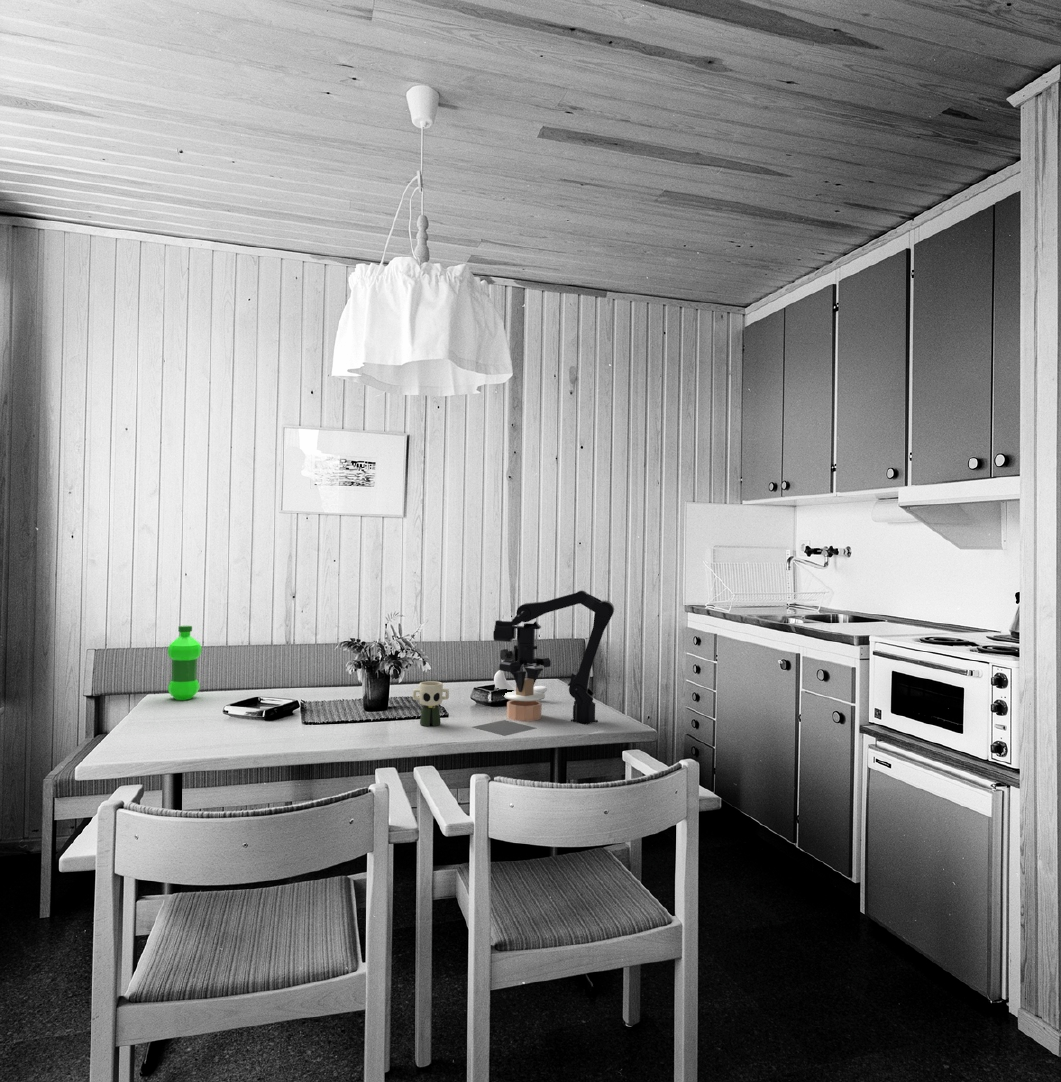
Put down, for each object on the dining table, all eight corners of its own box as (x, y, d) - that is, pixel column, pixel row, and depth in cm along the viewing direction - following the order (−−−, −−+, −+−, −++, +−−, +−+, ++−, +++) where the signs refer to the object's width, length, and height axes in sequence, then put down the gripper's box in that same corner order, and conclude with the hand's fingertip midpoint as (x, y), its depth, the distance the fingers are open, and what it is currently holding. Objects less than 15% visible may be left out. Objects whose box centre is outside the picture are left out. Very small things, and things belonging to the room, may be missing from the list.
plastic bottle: (166, 696, 271) (168, 625, 271) (199, 694, 275) (201, 624, 275) (166, 702, 261) (168, 628, 262) (200, 700, 266) (202, 627, 266)
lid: (553, 697, 250) (553, 679, 250) (525, 703, 240) (525, 684, 241) (523, 691, 259) (524, 674, 259) (496, 696, 249) (496, 678, 249)
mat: (536, 729, 235) (536, 727, 235) (504, 737, 225) (504, 735, 225) (504, 721, 244) (504, 720, 244) (471, 728, 234) (471, 727, 234)
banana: (547, 702, 276) (548, 661, 276) (493, 702, 274) (494, 660, 274) (545, 699, 281) (546, 659, 281) (493, 699, 279) (494, 658, 279)
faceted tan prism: (547, 718, 250) (548, 703, 250) (524, 723, 242) (525, 707, 242) (523, 713, 257) (523, 698, 257) (500, 718, 249) (500, 702, 249)
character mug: (413, 729, 232) (414, 685, 232) (411, 723, 239) (412, 681, 239) (449, 728, 234) (450, 685, 234) (446, 722, 241) (447, 680, 241)
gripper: (527, 638, 262) (526, 684, 262) (487, 642, 248) (486, 691, 248) (552, 641, 254) (551, 688, 254) (512, 646, 241) (511, 696, 241)
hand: (524, 691), depth 250 cm, fingers closed on lid, 4 cm apart
